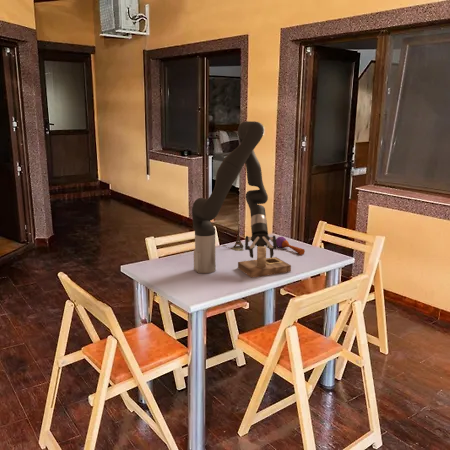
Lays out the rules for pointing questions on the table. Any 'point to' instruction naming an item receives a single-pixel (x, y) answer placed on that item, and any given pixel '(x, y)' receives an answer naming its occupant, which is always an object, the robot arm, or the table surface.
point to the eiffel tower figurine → (237, 243)
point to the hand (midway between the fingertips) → (261, 257)
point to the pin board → (272, 267)
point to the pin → (261, 256)
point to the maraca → (284, 243)
